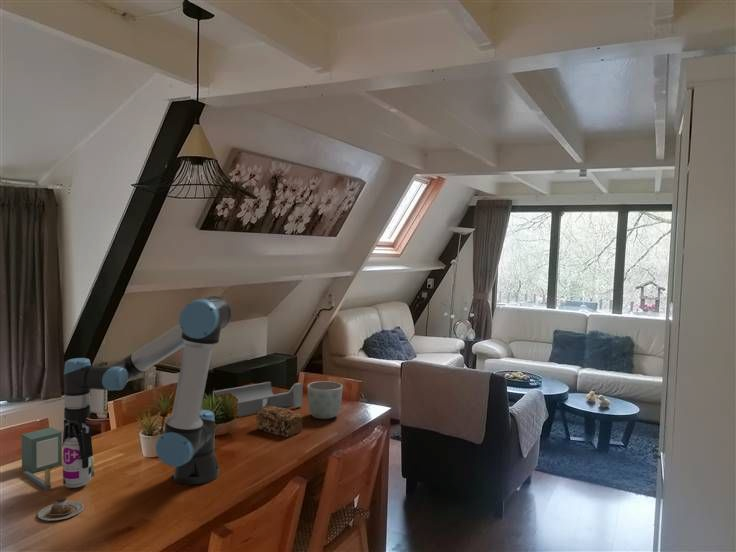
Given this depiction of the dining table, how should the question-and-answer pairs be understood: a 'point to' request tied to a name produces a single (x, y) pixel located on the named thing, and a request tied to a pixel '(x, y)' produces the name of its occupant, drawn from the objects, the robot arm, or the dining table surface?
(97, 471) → the dining table surface
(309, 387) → the planter
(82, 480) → the supplement can
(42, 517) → the pastry
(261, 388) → the grey channel bracket
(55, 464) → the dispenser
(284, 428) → the bread
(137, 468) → the dining table surface
